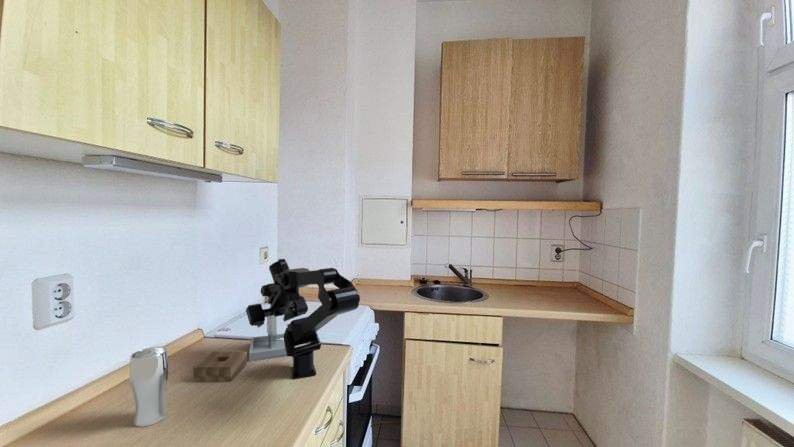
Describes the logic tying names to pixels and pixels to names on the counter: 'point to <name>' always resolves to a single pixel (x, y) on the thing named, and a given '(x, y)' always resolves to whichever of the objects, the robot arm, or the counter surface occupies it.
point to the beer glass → (149, 384)
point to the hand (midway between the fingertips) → (271, 323)
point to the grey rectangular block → (271, 331)
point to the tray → (266, 348)
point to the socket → (220, 367)
